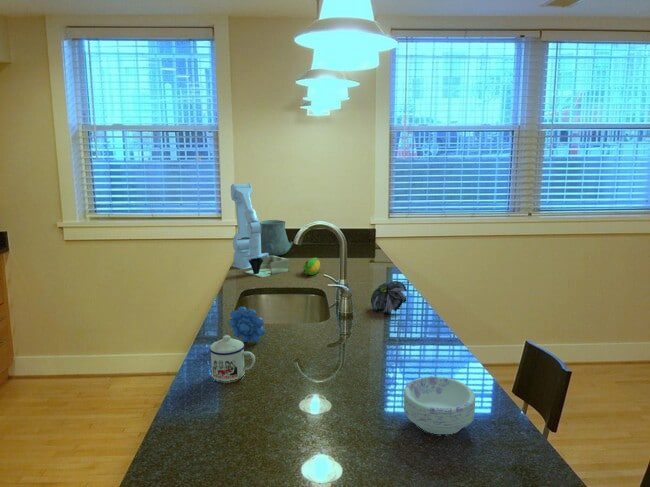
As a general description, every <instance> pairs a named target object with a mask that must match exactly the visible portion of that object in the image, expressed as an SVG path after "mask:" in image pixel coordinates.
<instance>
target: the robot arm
mask: <svg viewBox="0 0 650 487" xmlns="http://www.w3.org/2000/svg"><path fill="white" fill-rule="evenodd" d="M252 186H253V185H252V184H251V183H250V182H247V183H232V184H231V185H230V198H231V200H232V201H234V205H235V213H236V214H235V215H236V225H237V233H236V234H235V235H233V237H232V247H233V250H234V252H233V266H232V267H233V268H236V269H237V268H238V269H240V270H244V269H249V268H251V270H253V273H254V274H258V273H259V270H260V266H261V264H262V262H263V259H261V258H264V257H269V253H261V232H262V224H261V221H260V219H259V218H258V216H257V212H256V209H254V208H253V203H252V200H251V197H252V193H253V187H252Z"/></svg>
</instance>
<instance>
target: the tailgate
mask: <svg viewBox="0 0 650 487" xmlns="http://www.w3.org/2000/svg"><path fill="white" fill-rule="evenodd" d="M243 273H244V274H247V275H250V276H254V277H257V278H266V277H269V276H271V275H270V274H268V273H264V272H260V271H259V273H258V274H254V273H253V269H250V270H247V271H243Z"/></svg>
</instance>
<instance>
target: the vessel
mask: <svg viewBox="0 0 650 487" xmlns="http://www.w3.org/2000/svg"><path fill="white" fill-rule="evenodd" d="M260 222H261V224H262V232H261V253H269V256H277V257H280V256H283V255H285V254H287V253H288V252H289V250H290V249H291V247H292V246H293V241H289V239H288V236H287V232H286V221H284V220H279V219H267V220H261V221H260Z"/></svg>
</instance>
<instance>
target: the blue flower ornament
mask: <svg viewBox="0 0 650 487" xmlns="http://www.w3.org/2000/svg"><path fill="white" fill-rule="evenodd" d="M230 318H231V319H229V320H228V326H229V327H230V328H232V335H233V336H235V337H236V338H240V337H241V340H242V342H243V343H245V342H249V343H250V342H251V341H252V342H253V343H258V342H260V340H261V337H262V336H265V334H266V331H265V328H264V327H263V326H264V324H265V321H264V319H263V318H262V317H261V316H258V314H257V311H256V310H255V309H252V308H250V309H247V308H246V307H245V306H239V307H238V309H237V310H235V309H234V310H231V312H230Z"/></svg>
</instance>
